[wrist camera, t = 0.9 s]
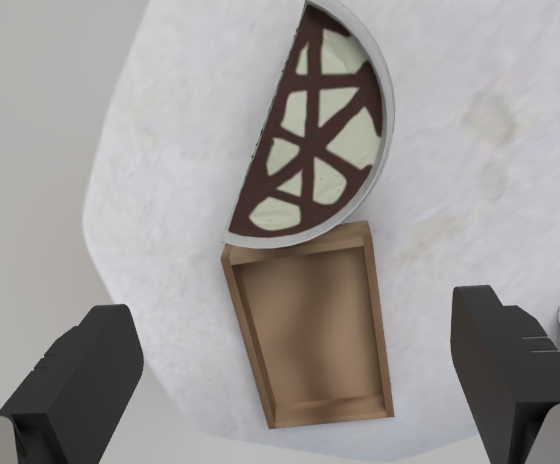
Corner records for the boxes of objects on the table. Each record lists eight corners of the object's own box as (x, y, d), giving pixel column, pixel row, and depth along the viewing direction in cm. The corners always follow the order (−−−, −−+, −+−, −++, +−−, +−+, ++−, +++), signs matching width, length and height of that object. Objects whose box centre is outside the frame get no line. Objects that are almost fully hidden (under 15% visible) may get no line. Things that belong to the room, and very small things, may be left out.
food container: (326, 212, 32) (334, 291, 23) (243, 182, 32) (217, 251, 23) (408, 32, 27) (458, 42, 18) (310, -9, 26) (311, -19, 17)
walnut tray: (367, 220, 32) (371, 236, 30) (389, 393, 39) (394, 416, 37) (226, 242, 34) (220, 258, 31) (271, 405, 40) (268, 429, 38)
